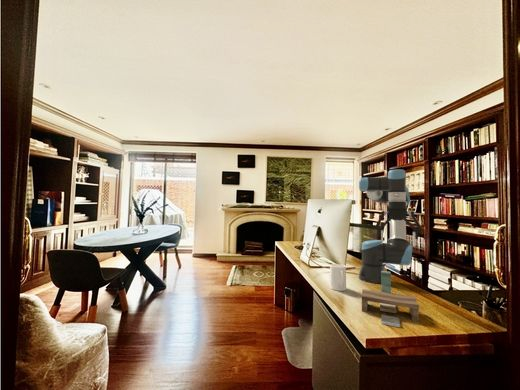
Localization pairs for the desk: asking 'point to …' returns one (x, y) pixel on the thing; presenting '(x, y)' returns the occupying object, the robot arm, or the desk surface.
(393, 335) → the desk surface
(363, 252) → the robot arm
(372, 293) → the riser
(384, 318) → the tile
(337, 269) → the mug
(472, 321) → the desk surface
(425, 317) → the desk surface
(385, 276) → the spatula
